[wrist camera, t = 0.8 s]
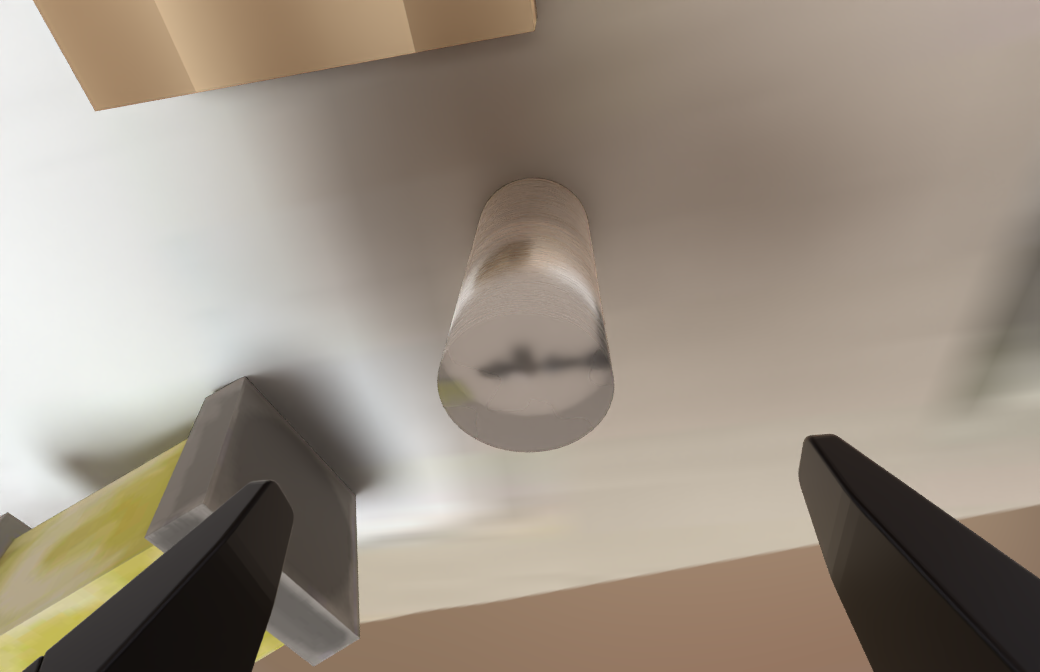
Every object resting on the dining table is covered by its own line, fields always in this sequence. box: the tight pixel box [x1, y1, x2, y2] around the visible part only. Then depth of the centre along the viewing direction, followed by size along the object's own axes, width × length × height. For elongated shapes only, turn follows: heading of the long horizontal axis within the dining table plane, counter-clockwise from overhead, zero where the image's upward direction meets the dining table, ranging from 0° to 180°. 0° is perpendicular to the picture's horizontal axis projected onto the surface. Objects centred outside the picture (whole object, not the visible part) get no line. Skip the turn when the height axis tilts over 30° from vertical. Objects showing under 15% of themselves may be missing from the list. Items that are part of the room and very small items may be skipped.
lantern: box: [0, 377, 360, 672], centre depth 24 cm, size 8×17×30 cm
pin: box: [437, 178, 614, 452], centre depth 14 cm, size 4×4×8 cm
